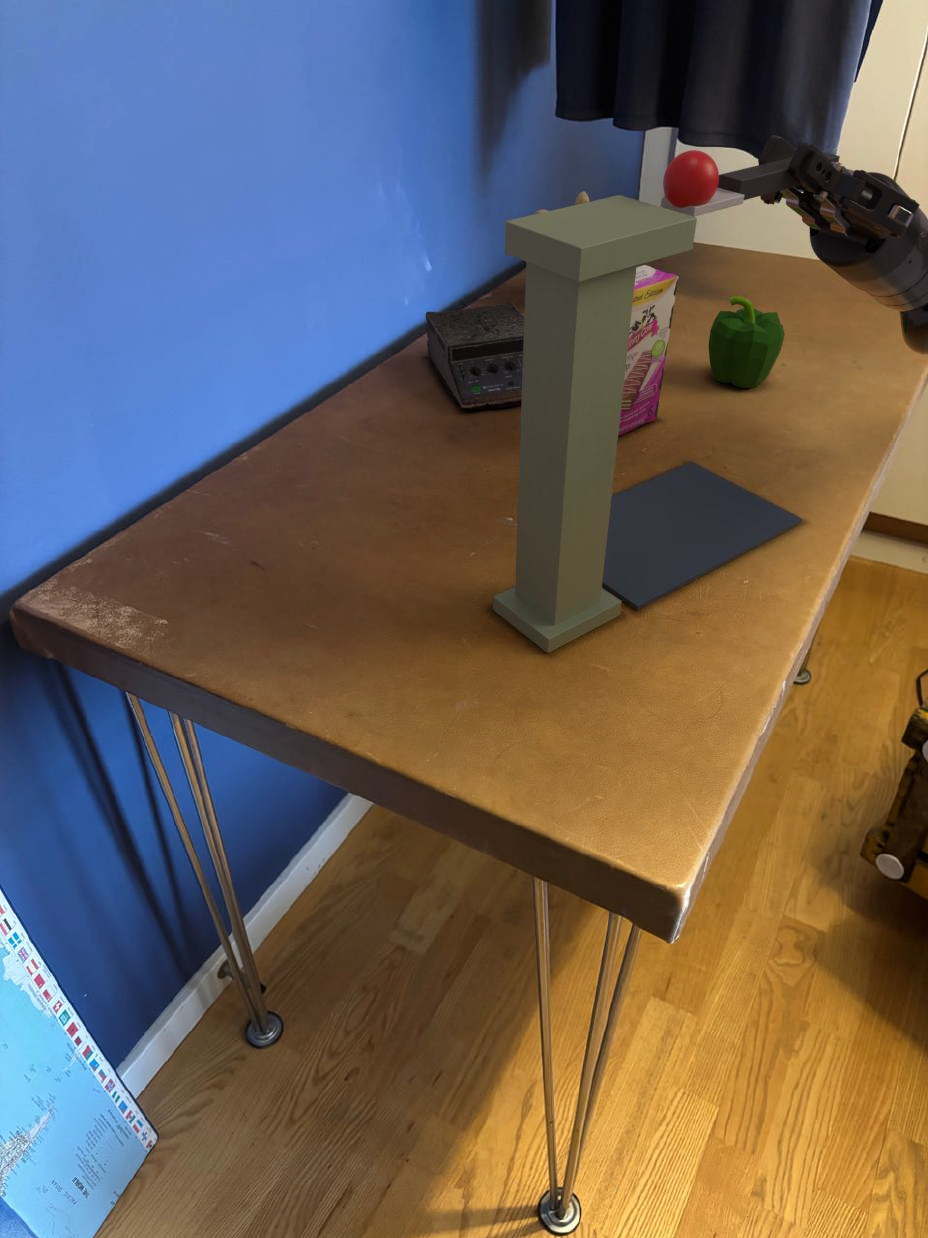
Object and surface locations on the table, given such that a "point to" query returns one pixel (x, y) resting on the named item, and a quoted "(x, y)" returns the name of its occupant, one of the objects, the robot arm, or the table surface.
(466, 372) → the electronic device
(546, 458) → the stand
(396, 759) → the table surface
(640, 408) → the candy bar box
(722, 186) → the bar with red ball
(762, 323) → the bell pepper
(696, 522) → the mat
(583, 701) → the table surface
